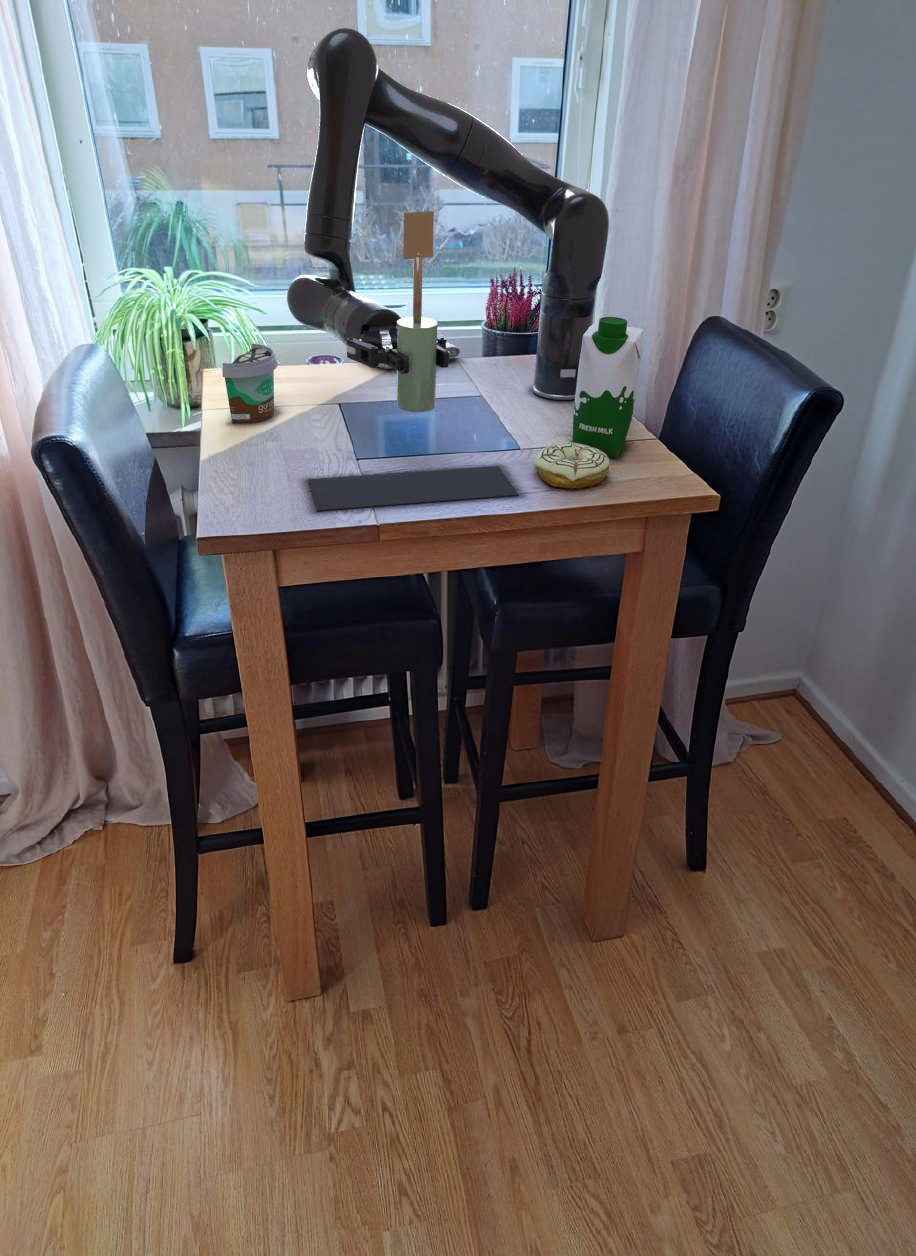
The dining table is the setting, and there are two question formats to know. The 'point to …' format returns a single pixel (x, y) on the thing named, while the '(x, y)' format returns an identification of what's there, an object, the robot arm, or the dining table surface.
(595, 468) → the decorated donut
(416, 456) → the dining table surface
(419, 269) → the spatula crock
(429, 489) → the mat
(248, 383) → the food container
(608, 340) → the milk carton
